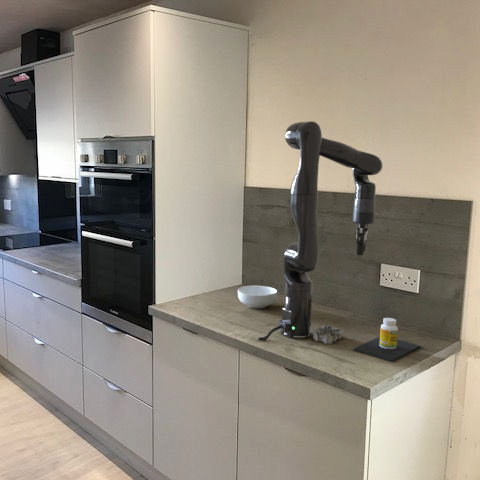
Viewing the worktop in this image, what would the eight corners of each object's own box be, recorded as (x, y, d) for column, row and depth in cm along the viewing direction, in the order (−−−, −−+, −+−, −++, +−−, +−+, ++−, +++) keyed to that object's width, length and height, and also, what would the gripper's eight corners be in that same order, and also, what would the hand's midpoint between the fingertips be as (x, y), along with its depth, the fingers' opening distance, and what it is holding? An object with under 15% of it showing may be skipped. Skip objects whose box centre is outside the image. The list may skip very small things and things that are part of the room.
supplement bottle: (385, 343, 181) (387, 316, 179) (399, 347, 176) (402, 320, 175) (375, 346, 178) (377, 318, 176) (390, 350, 173) (392, 322, 172)
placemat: (392, 361, 166) (392, 360, 166) (354, 350, 175) (354, 348, 175) (420, 347, 179) (420, 345, 178) (383, 337, 188) (383, 335, 188)
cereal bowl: (248, 298, 238) (248, 283, 237) (282, 304, 228) (283, 288, 227) (230, 306, 224) (230, 290, 223) (266, 313, 215) (267, 297, 214)
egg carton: (328, 345, 180) (329, 333, 179) (309, 339, 185) (310, 328, 185) (344, 338, 187) (345, 327, 186) (325, 332, 192) (326, 322, 192)
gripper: (355, 208, 203) (352, 249, 205) (351, 211, 190) (348, 255, 192) (376, 209, 199) (372, 251, 202) (373, 212, 187) (370, 257, 189)
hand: (360, 253), depth 197 cm, fingers open, 8 cm apart
